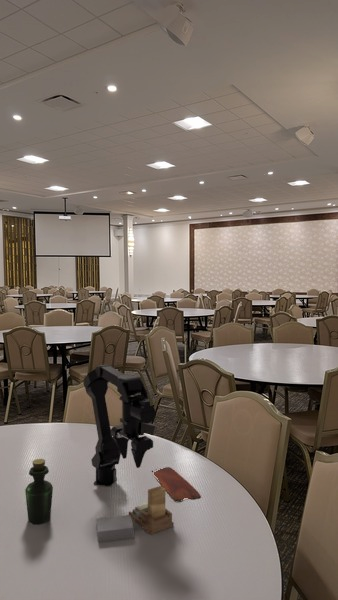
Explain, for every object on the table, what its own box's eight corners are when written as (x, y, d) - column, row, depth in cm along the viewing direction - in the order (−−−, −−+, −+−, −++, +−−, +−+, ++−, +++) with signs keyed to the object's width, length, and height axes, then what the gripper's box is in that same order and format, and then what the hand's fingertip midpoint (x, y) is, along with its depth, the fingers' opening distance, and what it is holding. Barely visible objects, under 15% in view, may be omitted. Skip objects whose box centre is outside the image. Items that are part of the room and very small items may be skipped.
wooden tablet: (202, 499, 152) (202, 494, 152) (175, 504, 148) (175, 499, 148) (172, 467, 176) (172, 463, 176) (148, 471, 173) (148, 467, 173)
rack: (128, 514, 140) (128, 502, 140) (151, 507, 145) (151, 495, 145) (150, 534, 130) (150, 520, 130) (173, 525, 134) (173, 512, 134)
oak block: (147, 515, 134) (147, 489, 134) (160, 511, 137) (160, 485, 136) (152, 519, 132) (152, 493, 132) (165, 515, 135) (165, 489, 134)
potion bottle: (54, 511, 142) (53, 455, 141) (51, 525, 134) (51, 466, 133) (27, 513, 141) (26, 456, 140) (23, 527, 133) (22, 467, 132)
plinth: (96, 528, 133) (96, 518, 133) (130, 524, 135) (130, 514, 135) (97, 542, 126) (97, 531, 126) (133, 537, 128) (133, 527, 128)
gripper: (167, 418, 144) (167, 466, 145) (138, 405, 160) (138, 449, 160) (137, 425, 138) (137, 475, 139) (109, 410, 153) (110, 455, 154)
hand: (131, 462), depth 148 cm, fingers open, 9 cm apart
